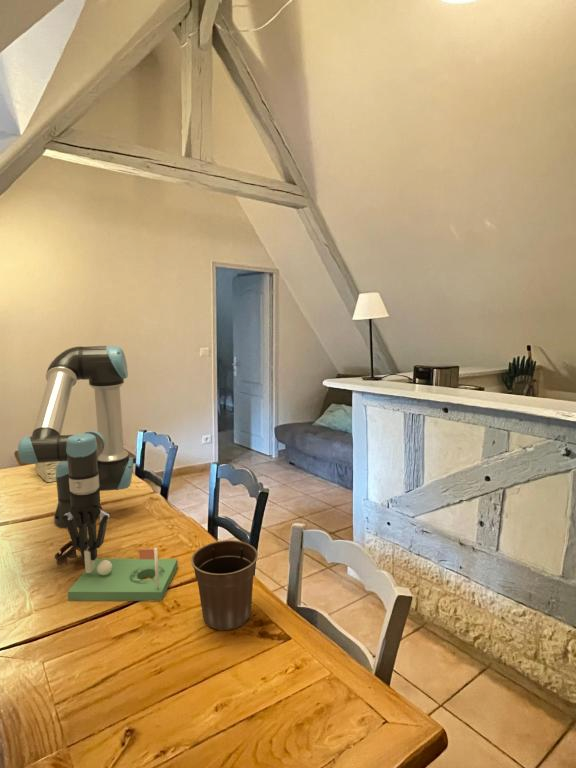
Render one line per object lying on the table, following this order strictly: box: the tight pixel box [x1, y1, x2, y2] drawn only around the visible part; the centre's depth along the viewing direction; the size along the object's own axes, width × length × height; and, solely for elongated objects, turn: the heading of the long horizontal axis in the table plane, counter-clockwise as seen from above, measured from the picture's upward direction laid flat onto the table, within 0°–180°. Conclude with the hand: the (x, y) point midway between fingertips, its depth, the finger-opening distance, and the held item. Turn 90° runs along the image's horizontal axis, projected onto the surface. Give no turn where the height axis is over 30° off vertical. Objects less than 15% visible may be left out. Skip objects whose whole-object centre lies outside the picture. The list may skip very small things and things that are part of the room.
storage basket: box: [34, 461, 61, 483], centre depth 221 cm, size 24×16×15 cm
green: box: [67, 558, 179, 602], centre depth 131 cm, size 25×17×2 cm
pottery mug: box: [54, 538, 89, 566], centre depth 142 cm, size 12×10×8 cm
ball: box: [97, 560, 112, 575], centre depth 130 cm, size 4×4×4 cm
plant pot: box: [190, 539, 259, 631], centre depth 115 cm, size 16×16×16 cm
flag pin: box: [138, 547, 159, 590], centre depth 123 cm, size 1×5×14 cm, turn 89°
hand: (90, 570), depth 130 cm, fingers closed
